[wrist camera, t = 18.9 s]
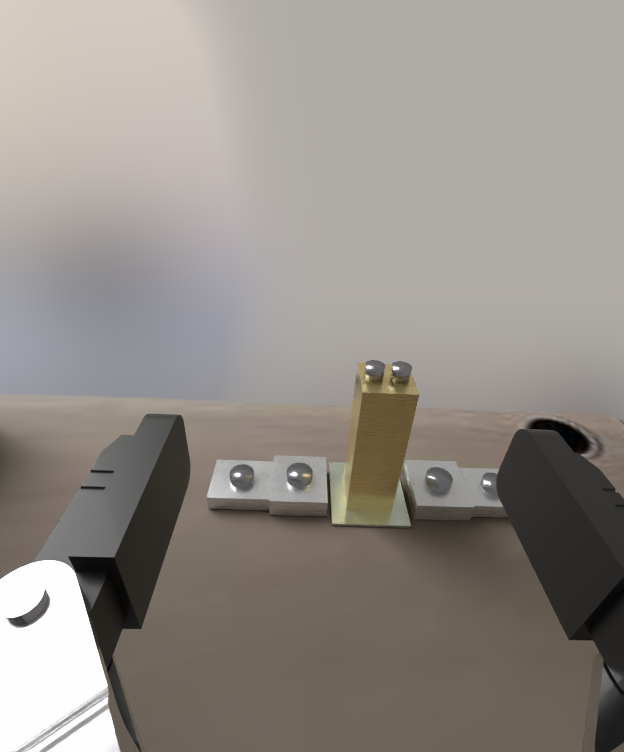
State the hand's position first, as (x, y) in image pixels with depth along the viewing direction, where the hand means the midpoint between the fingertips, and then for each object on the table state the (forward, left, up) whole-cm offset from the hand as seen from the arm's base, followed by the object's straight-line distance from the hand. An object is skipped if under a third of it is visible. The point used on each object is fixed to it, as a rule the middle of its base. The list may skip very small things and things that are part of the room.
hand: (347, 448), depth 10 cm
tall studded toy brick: (+6, +21, -25) cm, 33 cm away
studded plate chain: (+6, +21, -26) cm, 33 cm away
